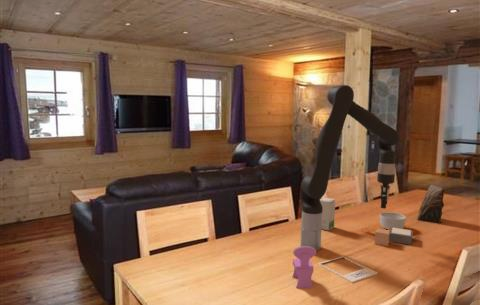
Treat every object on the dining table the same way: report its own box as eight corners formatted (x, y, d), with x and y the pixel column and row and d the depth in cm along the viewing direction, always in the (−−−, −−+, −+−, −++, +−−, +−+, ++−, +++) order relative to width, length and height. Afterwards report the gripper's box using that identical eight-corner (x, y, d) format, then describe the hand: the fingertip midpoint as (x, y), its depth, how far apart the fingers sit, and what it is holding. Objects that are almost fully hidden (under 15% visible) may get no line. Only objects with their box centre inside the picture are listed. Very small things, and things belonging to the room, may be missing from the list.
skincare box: (328, 231, 192) (329, 202, 189) (316, 228, 195) (317, 199, 193) (334, 227, 198) (336, 198, 196) (323, 224, 202) (324, 196, 200)
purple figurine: (310, 276, 141) (312, 239, 139) (316, 288, 132) (318, 248, 130) (289, 276, 140) (290, 239, 138) (293, 288, 132) (294, 248, 130)
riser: (411, 244, 174) (412, 236, 174) (389, 241, 179) (389, 232, 178) (411, 238, 183) (412, 230, 183) (390, 234, 188) (391, 226, 187)
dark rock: (424, 215, 222) (427, 183, 219) (447, 220, 213) (450, 186, 210) (416, 219, 213) (419, 186, 211) (439, 225, 204) (443, 190, 202)
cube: (387, 246, 172) (388, 234, 172) (374, 244, 175) (375, 232, 174) (388, 242, 178) (389, 230, 177) (375, 240, 180) (376, 228, 180)
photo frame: (352, 281, 136) (318, 262, 151) (351, 284, 136) (317, 265, 151) (377, 272, 144) (342, 255, 159) (377, 275, 144) (342, 258, 159)
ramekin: (400, 224, 204) (401, 212, 203) (408, 232, 191) (409, 220, 190) (376, 223, 205) (376, 211, 205) (382, 231, 192) (383, 218, 192)
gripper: (394, 175, 164) (391, 210, 166) (395, 170, 177) (393, 203, 179) (376, 174, 167) (374, 208, 169) (379, 169, 180) (376, 201, 182)
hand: (384, 205), depth 174 cm, fingers open, 8 cm apart
